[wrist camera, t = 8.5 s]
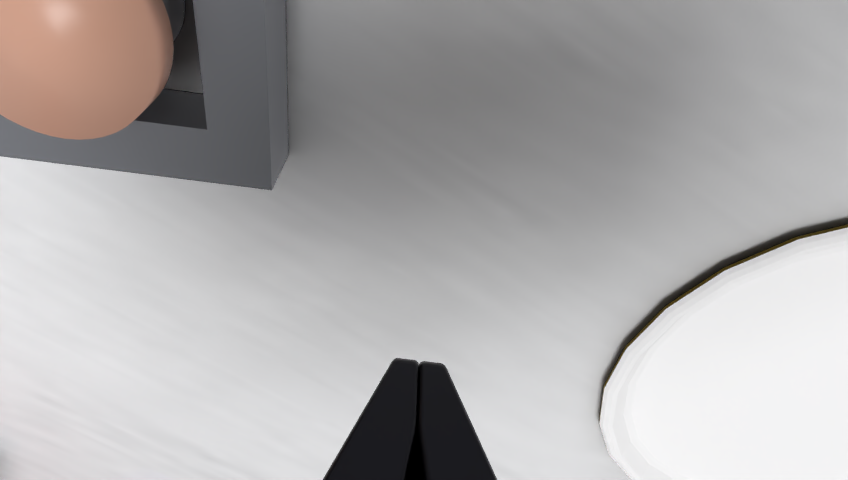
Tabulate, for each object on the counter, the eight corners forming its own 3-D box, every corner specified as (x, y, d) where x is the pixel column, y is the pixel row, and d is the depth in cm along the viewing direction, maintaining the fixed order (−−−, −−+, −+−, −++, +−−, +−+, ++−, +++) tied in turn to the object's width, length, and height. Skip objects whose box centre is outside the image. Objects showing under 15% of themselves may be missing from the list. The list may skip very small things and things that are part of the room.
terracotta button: (200, -103, 16) (133, -78, 12) (219, 91, 19) (169, 152, 16) (-10, -134, 16) (-137, -117, 12) (46, 68, 19) (-41, 125, 16)
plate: (1198, 152, 20) (1238, 171, 19) (991, 481, 32) (1009, 503, 31) (580, 248, 23) (586, 268, 22) (604, 512, 35) (609, 532, 34)
